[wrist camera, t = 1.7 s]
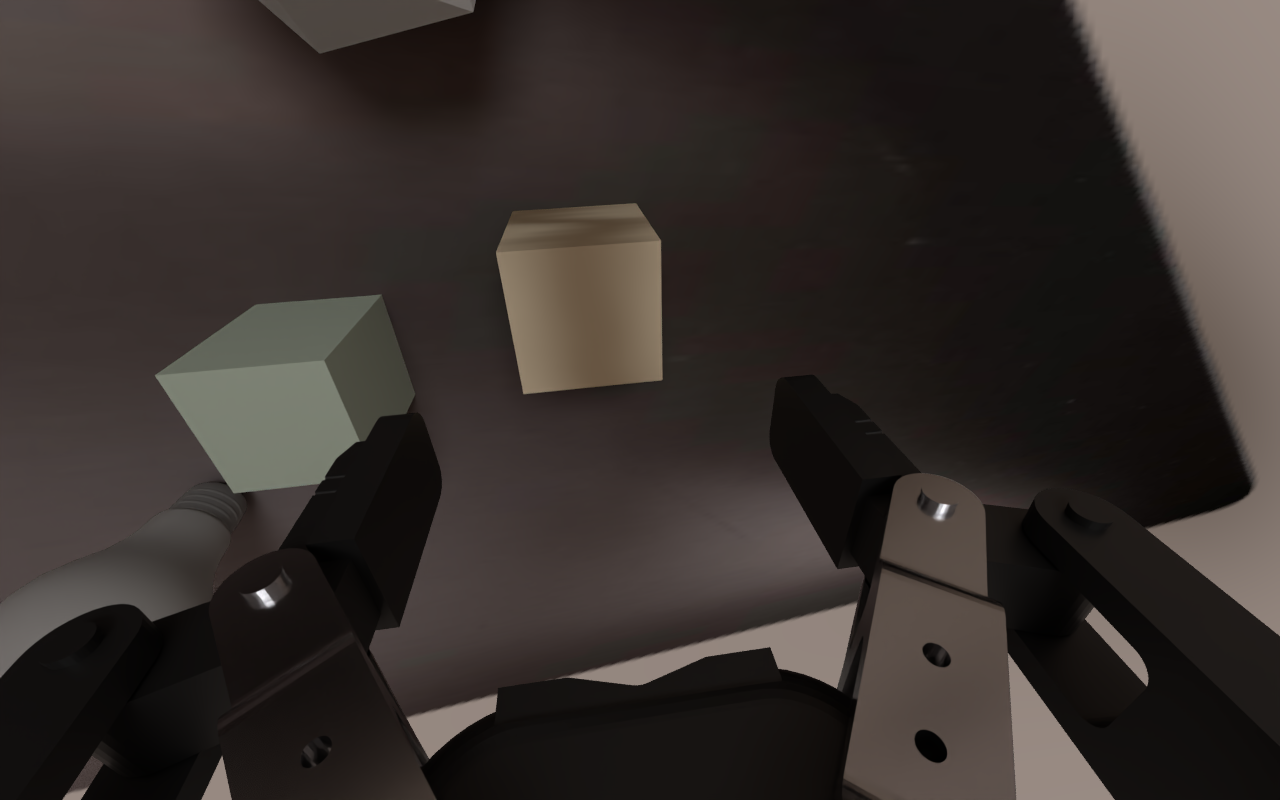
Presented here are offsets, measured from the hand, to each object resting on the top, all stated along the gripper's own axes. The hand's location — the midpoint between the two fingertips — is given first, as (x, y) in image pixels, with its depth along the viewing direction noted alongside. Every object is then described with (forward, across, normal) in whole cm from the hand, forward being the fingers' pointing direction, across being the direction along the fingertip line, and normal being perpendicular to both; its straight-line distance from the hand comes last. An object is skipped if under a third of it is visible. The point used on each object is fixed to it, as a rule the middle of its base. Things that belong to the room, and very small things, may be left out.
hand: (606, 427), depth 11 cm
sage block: (+12, +11, +3) cm, 17 cm away
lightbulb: (+12, +19, +10) cm, 25 cm away
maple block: (+12, 0, 0) cm, 12 cm away
